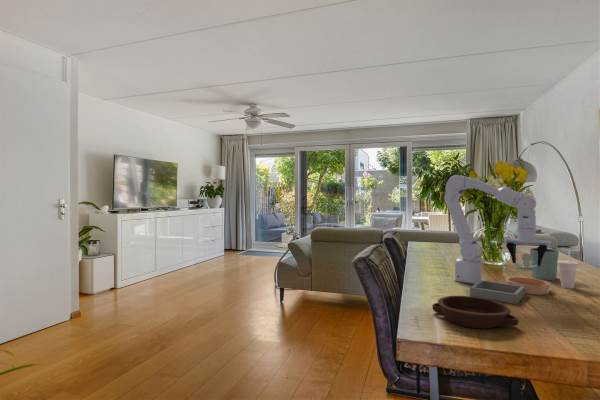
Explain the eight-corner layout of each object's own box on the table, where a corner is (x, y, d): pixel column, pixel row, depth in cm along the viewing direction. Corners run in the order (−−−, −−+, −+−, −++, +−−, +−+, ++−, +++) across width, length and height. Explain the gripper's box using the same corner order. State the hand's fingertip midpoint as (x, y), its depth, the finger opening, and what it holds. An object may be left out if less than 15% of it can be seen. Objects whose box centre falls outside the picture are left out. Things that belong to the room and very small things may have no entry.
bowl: (501, 289, 128) (501, 281, 128) (510, 282, 138) (510, 275, 138) (546, 296, 119) (546, 287, 119) (551, 288, 129) (551, 280, 129)
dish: (516, 341, 83) (516, 321, 83) (423, 322, 96) (423, 304, 96) (520, 320, 97) (520, 302, 97) (439, 306, 110) (439, 290, 110)
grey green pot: (547, 274, 151) (547, 247, 151) (565, 280, 141) (565, 251, 141) (524, 275, 151) (524, 247, 151) (540, 280, 141) (540, 251, 141)
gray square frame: (470, 295, 120) (470, 287, 120) (481, 287, 131) (481, 280, 131) (516, 304, 111) (516, 294, 111) (525, 294, 121) (525, 286, 121)
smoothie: (582, 289, 127) (582, 252, 126) (562, 289, 128) (562, 251, 128) (572, 285, 133) (572, 249, 133) (553, 284, 134) (553, 249, 134)
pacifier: (536, 273, 123) (539, 270, 127) (535, 256, 123) (539, 253, 127) (512, 270, 128) (517, 268, 132) (512, 254, 128) (516, 251, 132)
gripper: (501, 227, 130) (501, 263, 130) (548, 230, 120) (548, 268, 120) (506, 226, 135) (506, 260, 135) (551, 228, 125) (551, 265, 126)
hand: (526, 264), depth 128 cm, fingers closed on pacifier, 7 cm apart
